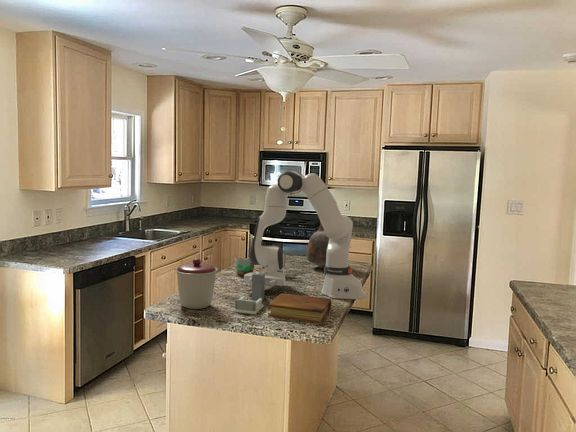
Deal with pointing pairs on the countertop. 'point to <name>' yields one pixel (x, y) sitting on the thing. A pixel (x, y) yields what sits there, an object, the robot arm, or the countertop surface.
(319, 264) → the jug
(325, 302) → the diary
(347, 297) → the robot arm
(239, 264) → the food container
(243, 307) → the pocket
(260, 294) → the grey block with knob
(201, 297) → the canister
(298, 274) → the countertop surface
